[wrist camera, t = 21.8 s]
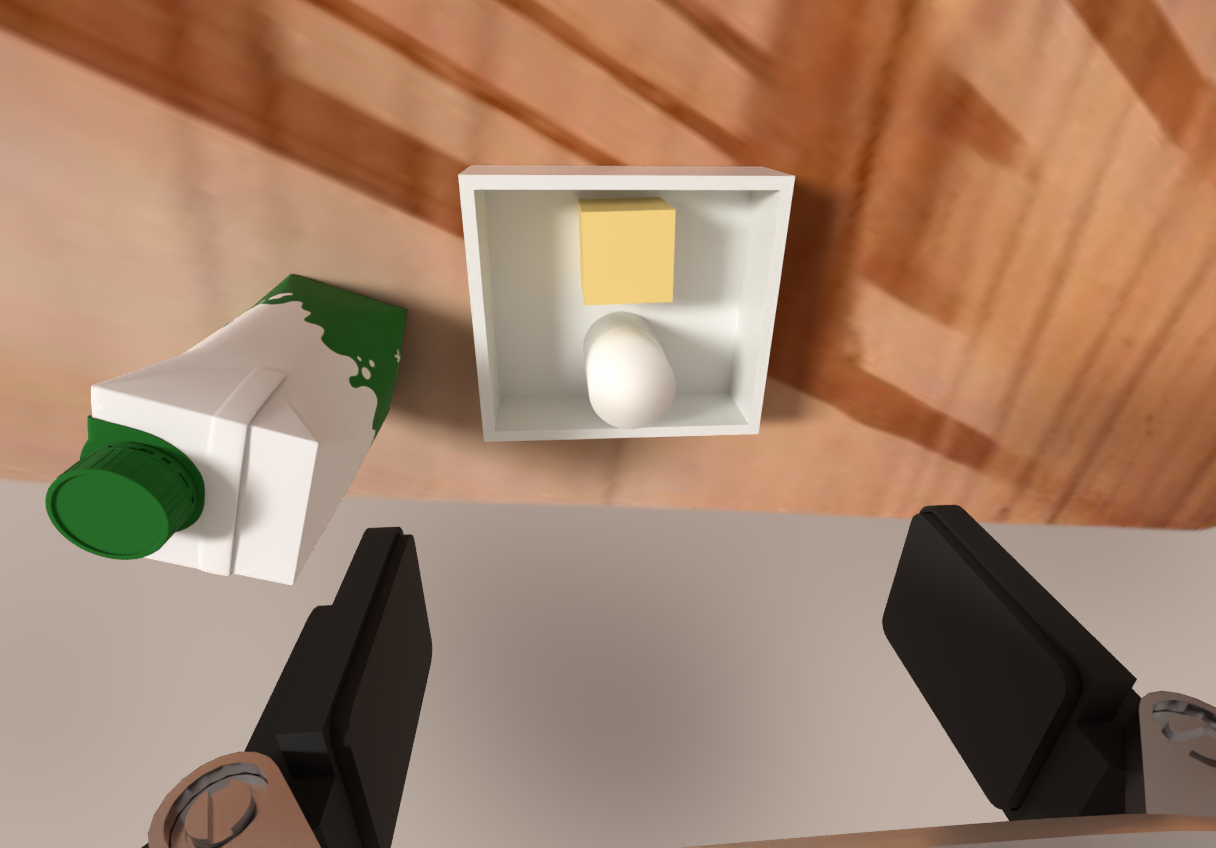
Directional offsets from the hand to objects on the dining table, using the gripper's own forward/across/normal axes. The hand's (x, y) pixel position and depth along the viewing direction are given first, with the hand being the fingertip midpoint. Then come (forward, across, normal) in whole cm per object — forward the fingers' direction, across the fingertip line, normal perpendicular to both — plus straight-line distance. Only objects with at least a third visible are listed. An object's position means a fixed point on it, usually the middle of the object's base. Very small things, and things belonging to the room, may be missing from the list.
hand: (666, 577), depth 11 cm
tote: (+30, -2, +3) cm, 31 cm away
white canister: (+30, -2, +6) cm, 30 cm away
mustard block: (+30, -2, 0) cm, 30 cm away
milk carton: (+31, +16, +6) cm, 35 cm away
